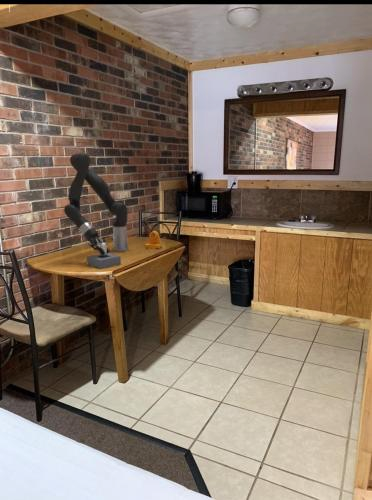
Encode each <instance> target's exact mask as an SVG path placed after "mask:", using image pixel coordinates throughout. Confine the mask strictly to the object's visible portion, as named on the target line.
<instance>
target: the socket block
mask: <svg viewBox="0 0 372 500" xmlns="http://www.w3.org/2000/svg"><path fill="white" fill-rule="evenodd" d="M121 257H122V256H121V255H116V254H114V253H110V252H109V253H107V257H105V258H100V253H98V254H93V255H92V254H91V255H87V256H86V258H87V265H88V266H91V267H95V268H98V269H101V270H102V268H103V269H106V268H111V267H114V266H115V265H116V266H119V264H120V265H122V263H121V261H122V260H121ZM116 266H115V267H116Z"/></svg>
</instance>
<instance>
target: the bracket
mask: <svg viewBox="0 0 372 500" xmlns="http://www.w3.org/2000/svg"><path fill="white" fill-rule="evenodd" d="M148 235H149V238H148V240H147V243H145V244H144V248H147V249H148V248H149V249H150V250H156V249H160V248H162V247H163V242H162V240H161V237H160V234H159V232H158V231H156V230H152V231H150V232H149V234H148Z"/></svg>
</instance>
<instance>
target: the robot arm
mask: <svg viewBox="0 0 372 500" xmlns="http://www.w3.org/2000/svg"><path fill="white" fill-rule="evenodd" d="M69 162H70V164H71V166H72V168H73V169H74V170H75V171H76V175H75V177H74V178H73V181H72V182H71V183H70V187H69V191H68V195H67V196H68V197H67V198H68V201H69V204H67V205H65V206H64V208H63V211H64V214H65V215H66V217H67V218H69V220H70V221H72V222H73V224H75V226H76V227H77V228H78V230H79V231H80V233H81V234H82V236H83V237H84V238H85V239H86V240H87V242H88V244H87V245H88V246H90V248H92V249H93V250H94V251H98V252H99V254H100V253H101V254H102V255H104V254H105V252H104V250H103V249H102V248H101V247H100V243H101V242H106V243H107V246H108V242H107V240H106V239H105V237H104V236H103V237H100V236H99V232H98V231H97V230H96V229H95V228H94V226H93V225H92V224H91V223H90V222H89V220H88V219H86V217H84V216H83V215H82V214H81V213H80V212H81V196H82V192H83V191H82V190H83V186H84V183H85V182H86V183H87V184H88V185H89V186H90V188H91V189H92V190H93V191H94V192H95V194H96V195H97V196H98V198H100V200H101V201H102V202H103V203H104V205H105V206H106V208H107V210H108V211H109V213H110V214H111V215H112V216H116V217H115V221H113V222H112V236H113V238H112V241H113V252H119V253H120V252H121V253H122V252H127V251H128V250H129V237H128V236H127V234H128V233H127V232H128V231H127V223H128V207H127V204H126V203H123V202H117V201H116V200H115V199H114V198H113V196H112V194H111V191H110V187H109V185H108V184H107V182H106V181H105V179H103V177H101V176H100V175H98V174H97V173H95V171H93V170H91V168H90V165H91V158H90V156H89V154H88V153H87V152H79V153H74V154H72V155H71V156H70V158H69ZM107 253H110V249H109V248H108V247H107Z"/></svg>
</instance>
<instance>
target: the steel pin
mask: <svg viewBox="0 0 372 500" xmlns="http://www.w3.org/2000/svg"><path fill="white" fill-rule="evenodd" d="M106 242H107V241H106ZM106 242H101V243H100V247H101V248H102V249H103V250H104V252H105V254H104V255H102V254H101V253H100V252H99V254H100V258H105V257H107V248H108V245H107V244H108V242H107V243H106Z"/></svg>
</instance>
